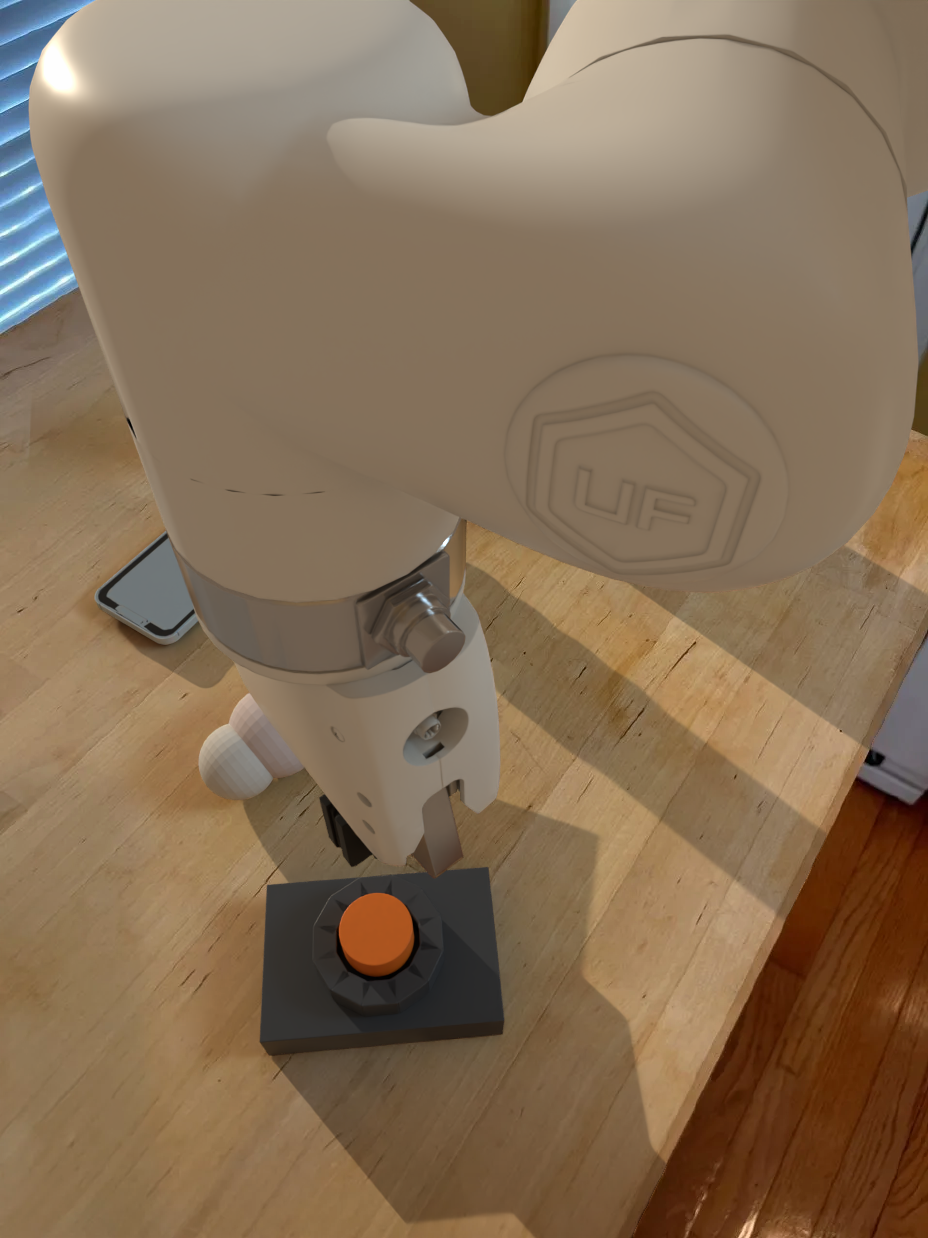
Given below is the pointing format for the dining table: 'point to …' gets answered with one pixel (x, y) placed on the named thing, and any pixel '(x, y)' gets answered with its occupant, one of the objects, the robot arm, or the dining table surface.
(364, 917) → the button
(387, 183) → the robot arm
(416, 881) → the control block
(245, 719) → the ice cream cone
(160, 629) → the smartphone
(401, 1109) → the dining table surface
